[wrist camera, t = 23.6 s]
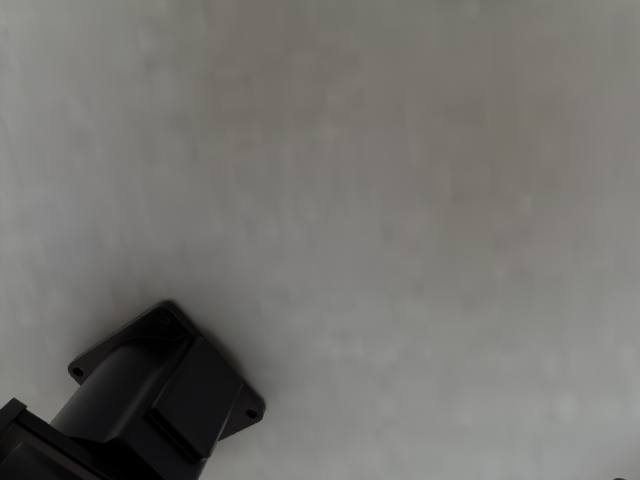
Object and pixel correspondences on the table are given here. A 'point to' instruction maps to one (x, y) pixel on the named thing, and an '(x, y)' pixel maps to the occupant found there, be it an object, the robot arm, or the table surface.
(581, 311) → the table surface
